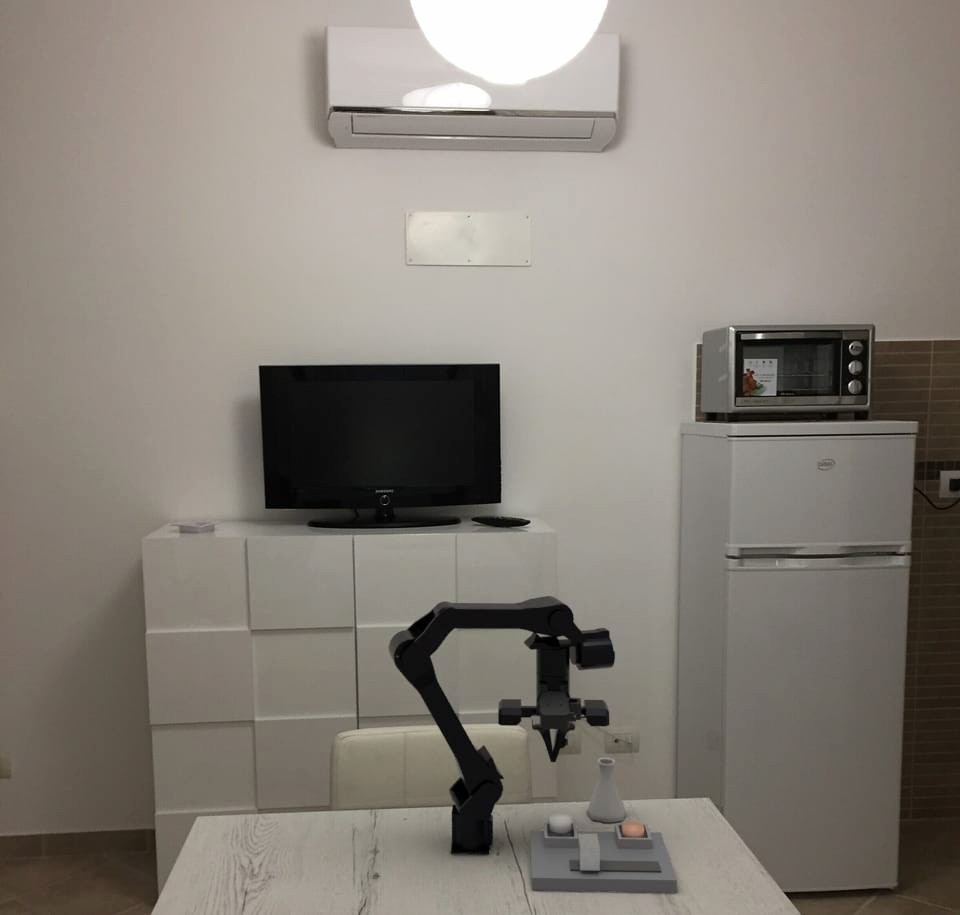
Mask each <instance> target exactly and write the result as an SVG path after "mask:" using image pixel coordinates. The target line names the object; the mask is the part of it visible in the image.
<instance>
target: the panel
mask: <svg viewBox="0 0 960 915" xmlns="http://www.w3.org/2000/svg"><path fill="white" fill-rule="evenodd" d="M624 823H625V822H621V823H620V822H619V823H618V822H614V831H603V830H602V831H597V830H596V831H590V830H589V831H587V830H584V831H583V830H580V831H579V830H578V829H577V823H576V822H571V830H570V831H569V832H566V833H556V832H553V831H551V830H550V821H549V822H543V830H529V845H530V847H529V849H530V874H531V876H530V878H531V879H530V882H531V891H532V890H538V891H539V892H546V891H547V892H587V891H589V892H593V891H595V892H596V891H600V892H601V893H602V892H603V893H604V891H611V892H610V893H613V892H612V891H616V893H647V892H648V893H653V894H655V893H656V894H657V893H658V894H660V893H663V894H678V892H677V891H678V880H677V876H676V874H675V871H674V868H673V865H672V862H671V858H670V857H669V853H668V851H667V847H666V844H665V841H664V839H663V838H664V837H663V834H662V832H659V831H658V832H657V831H656V832H655V831H650V828H649V825H648V823H641V824H642V825H643V826H644V838H622V825H623V824H624ZM578 834H597V836H598V841H599V847H600V871H591V870H580V866H579V859H578ZM538 891H537V892H538ZM619 891H621V892H619ZM600 892H599V893H600Z"/></svg>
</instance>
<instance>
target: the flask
mask: <svg viewBox="0 0 960 915" xmlns="http://www.w3.org/2000/svg"><path fill="white" fill-rule="evenodd" d="M597 765H598V775H597V780H596V785H595V788H594V790H593V793H592V795H591V798H590V800H589V803H588V807H587V809H586V814H587V815H588V816H589V818H590V820H592V821H597V822H602V823H606V824H607V823H618V822H623V821H624V819H625V817H626V816H627V811H626V808H625V806H624V802H623V801H622V798H621V795H620V791H619V787H618V785H617V783H616V782H617V781H616V777H615V768H614V767H615V765H616V760H615V759H614V758H611V757H600V758H598V760H597Z"/></svg>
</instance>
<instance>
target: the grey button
mask: <svg viewBox="0 0 960 915" xmlns="http://www.w3.org/2000/svg"><path fill="white" fill-rule="evenodd" d="M549 822H550V830H551V831H553V832H556V833H566V832H569V831H570V830H571V823H572V815H571V814H570V813H569V812H568V811H562V810H559V811H558V810H556V811H553V812H551V813H550V814H549Z"/></svg>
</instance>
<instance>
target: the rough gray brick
mask: <svg viewBox="0 0 960 915" xmlns="http://www.w3.org/2000/svg"><path fill="white" fill-rule="evenodd" d="M578 859H579V866H580V870H591V871H600V847H599V841H598V836H597V834H578Z"/></svg>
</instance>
